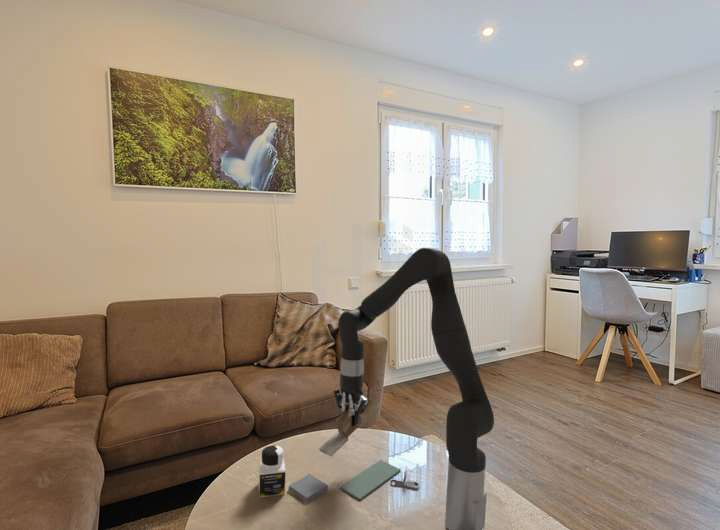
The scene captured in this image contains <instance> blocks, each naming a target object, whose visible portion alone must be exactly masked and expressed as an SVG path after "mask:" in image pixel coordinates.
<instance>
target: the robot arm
mask: <svg viewBox="0 0 720 530" xmlns="http://www.w3.org/2000/svg"><path fill="white" fill-rule="evenodd" d="M423 281H426V283H427V285H428V290H429V293H430V296H431V302H432V303H431V306H432V307H431V319H430V327H431V335H432V338H433V342H434V346H435V347H434V348H435V350H436V352H437V355H438V357H439V358H440V360H441V361H442V363H443V364H444V365H445V366H446V368H447V369H448V370H449V371H450V373H451V374H452V376H453V377H454V378H455V381H456V383H457V385H458V388H459V392H460V396H461V400H462V401H459V402H456V403H454V404H452V405H451V406H450V407H449V408H448V411H447V414H446V420H445V422H446V425H445V426H446V427H445V428H446V429H445V430H446V431H445V433H446V434H445V437H446V438H445V441H446V443H445V444H446V445H445V446H446V450H447V453H448V463H447V464H448V465H447V477H446V478H447V480H446V481H447V482H446V496H445V512H444V513H445V514H444V517H445V518H444V525H445V528H446V527H447V528H448V529H449V530H482V529H483V528H484V527H485V528H486V526H485V525H486V512H487V510H486V509H487V493H485V480H486V479H485V478H486V477H485V476H486V464H487V457H486V454H485V453H484V451H483V450H482V449H480V448H479V447H478V438H480V437H482V436H485V435H487V434H489V433H490V432H491V431H492V430H493V428H494V425H495V418H494V417H495V416H494V412H493V409H492V405H491V403H490V401H489V397H488V395H487V392H486V390H485V388H484V385H483V383H482V382H483V381H482V379H481V377H480V374H479V370H478V366H477V363H476V359H475V356H474V354H473V353H474V352H473V350H472V346H471V341H470V338H469V334H468V329H467V327H466V324H465V320H464V316H463V314H462V310H461V308H460V303H459V300H458V297H457V294H456V289H455V285H454V283H455V282H454V278H453V271H452V266H451V261H450V258H449V257H448V255H447V254H446V253H445V252H443V251H442V250H439V249H436V248H432V247H427V246H426V247H421V248H419V249H417V250H416V251H414V253H412V254H411V255H410V256H409V257H408V259H407V260H406V261H405V262H404V263H403V264H402V265H401V267H399V268H398V270H396V272H395V273H394V274H393V275H391V277H390V278H388V279H387V281H385V282H383V284H382V285H380V286H379V287H378V288H377V289H375V290H374V291H373V292H371V293H369V295H367V296H366V297H365V298H363V300H362V301H361V303H360V305H359V306H357V308H355V309H351V310H346V311H344V312H342V313H341V314H340V316H339V319H338V323H337V325H338V326H337V327H338V333H339V338H340V342H341V360H340V365H339V366H340V368H339V370H340V371H339V386H340V387H338V388H336V389H334V390H333V394H334V397H335V401H336V405H337V408H338V409H340V410H341V411H342V414H343V413H344V412H345V411H346V410H348V409H349V408H351V411H352V424H351V426H352V427H354V426H356V425H357V424H358V415H360V416H361V415H362V414H364V413H365V411H366V409H367V407H368V404H369V402H370V398H369V397H365V396H364V395H363V393H364V392H363V386H364V372H365V371H364V370H365V365H364V364H365V362H364V352H365V350H364V348H365V347H364V342H363V340H362V339H360V338H359V337H358V332H360V331H362V330H364V329H366V328H367V327H369V326H370V325H371V324H372V323H373V322H374V321H375V320H376V319H377V318H378V317H380V316H381V315H383V314H384V313H385V312H387V311H388V310H390V309H391V308H392V307H393V306H395V304H396V303H398V300H400V298H401V297H402V296H403V294H404V293H405V292H406V291H407V290H409V289H410V288H411V287H413V286H415V285H416V284H418V283H420V282H423ZM355 409H356V411H355ZM447 528H446V529H447ZM485 528H484V529H485ZM448 529H447V530H448Z"/></svg>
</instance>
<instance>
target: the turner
mask: <svg viewBox="0 0 720 530" xmlns="http://www.w3.org/2000/svg"><path fill="white" fill-rule="evenodd" d="M355 411H356V409H355ZM335 421H336V427H337V431H338V432H335V433H333V435H332V436H331V437H330V438H329V439H327V441H325V442H324V443H323V444H322V445H321V446H320V447H319V448H318V450H319V451H320V452H322V453H323V454H325V455H326V456H329V457H333V456H334V455H335V454H336V453H337V452H338V451H339V450H340V449H341V448H342V447H343V446H344V445H345V444H346V443H347V442H348V441H349V437H350V436H351V434H353V433H354V432H355V431H356V430H357V429H358V428H359V427H360V426H362V424H363V422H362V418H361V414H360V415H358V424H357V425H356V426H354V427H352V426H351V424H352V411H351V408H349V409H348V410H346V411H345V412H344V413H343V412H342V414H341V415H340V416H338V417H337V418H336V419H335Z"/></svg>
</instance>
